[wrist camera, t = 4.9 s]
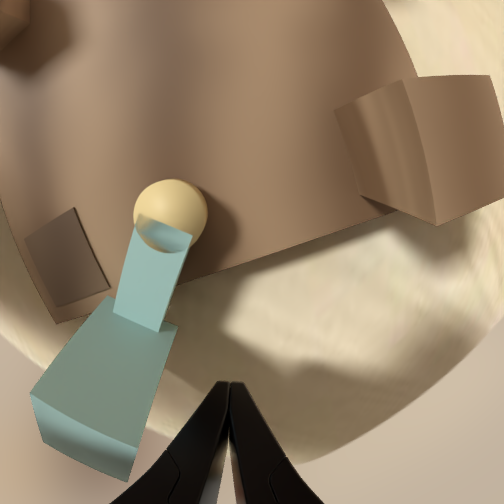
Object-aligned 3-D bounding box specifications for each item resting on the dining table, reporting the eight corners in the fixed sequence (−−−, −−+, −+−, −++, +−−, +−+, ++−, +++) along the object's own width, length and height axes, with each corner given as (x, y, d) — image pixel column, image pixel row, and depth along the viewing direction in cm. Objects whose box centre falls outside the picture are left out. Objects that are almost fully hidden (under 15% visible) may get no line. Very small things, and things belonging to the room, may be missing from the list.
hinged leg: (144, 164, 8) (27, 182, 3) (230, 199, 9) (207, 262, 4) (98, 348, 11) (43, 441, 5) (160, 376, 11) (127, 482, 6)
